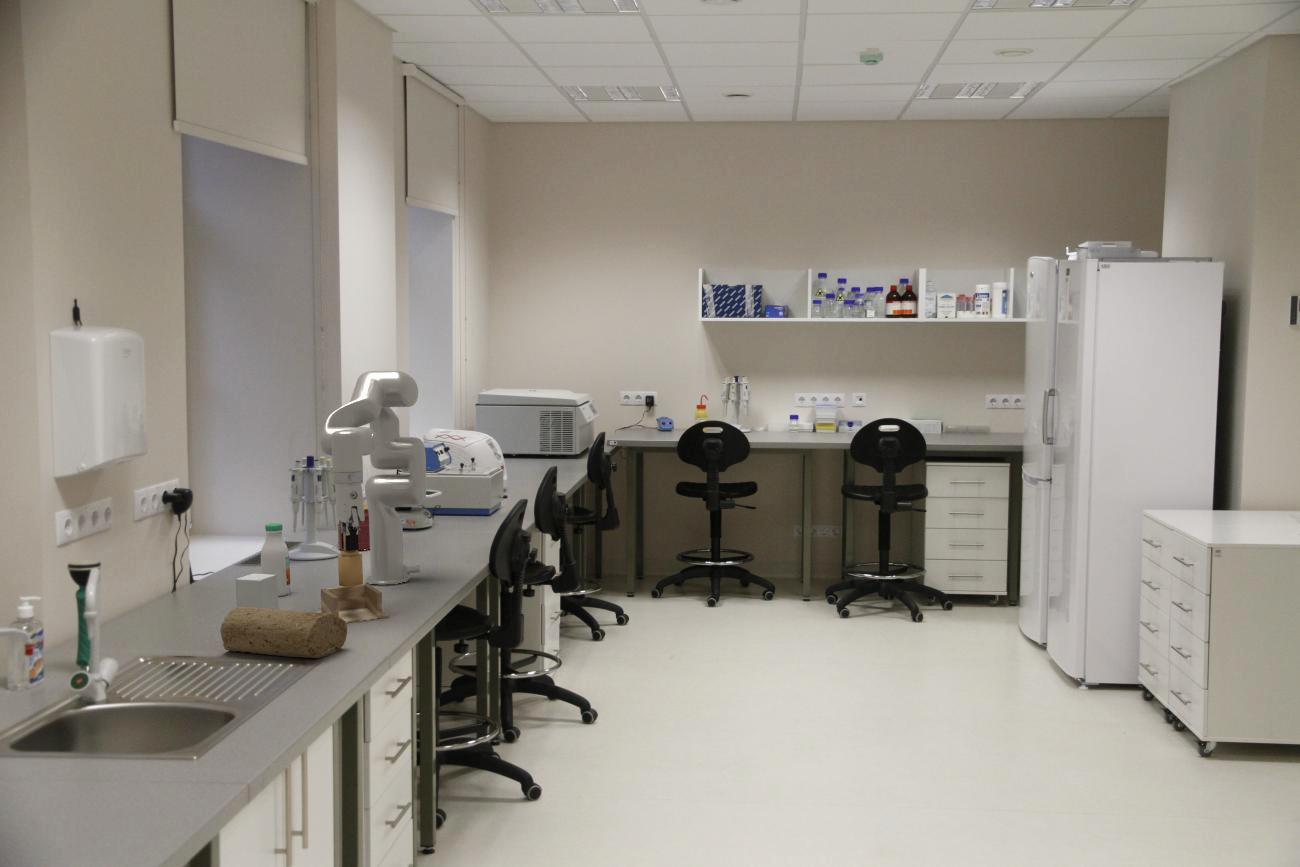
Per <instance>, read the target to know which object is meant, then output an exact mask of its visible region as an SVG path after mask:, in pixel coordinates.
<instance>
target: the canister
mask: <svg viewBox="0 0 1300 867" xmlns="http://www.w3.org/2000/svg"><path fill="white" fill-rule="evenodd" d="M363 503H364V517H365V520H364V522H362V523H361V522H359V521H358V523H359V527H358V543H359V549H358V550H364V549H370V531H369V512H368V505H367V501H366V502H365V501H363ZM337 537H338V541H337V545H338V550H340V549H341V550H340V551H343V550H344V549H343V548H342V543H341V521H340V520H338V523H337Z"/></svg>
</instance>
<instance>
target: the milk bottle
mask: <svg viewBox="0 0 1300 867" xmlns="http://www.w3.org/2000/svg"><path fill="white" fill-rule="evenodd" d="M264 525H265V526H264V529H265V533H266V534H265V535H266V536H265V540H264V543H263V545H262V548H261V551H260V574H270V575H277V589H278V597H282V596H287V594H288V595H289V594H291V592H292V591H291V590H292V589H291V565H290V552H289V549H288V546H287V544H286V541H285V540H284V539H285V538H284V537H283V524H282V523H281V522H271V523H266V524H264Z"/></svg>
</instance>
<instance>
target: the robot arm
mask: <svg viewBox="0 0 1300 867" xmlns="http://www.w3.org/2000/svg"><path fill="white" fill-rule="evenodd" d="M418 398H419V387H418V384H417V382H416V380H415V379H414V377H412V376H410V375H409V374H408V373H406V372H403V371H400V370H368V371H365V372H363V373H362V374H360V375H359V377H358V378H357V379H356V383H355V386H354V388H353V391H352V395H351V398H350V401H349V402H347V403H345V404H343V405H341V406H340V407H338V408H337V409H335V410H334V411H333V412H331V413H330V414H329V415H328V417H326V420H325V422H324V425H323V427H322V429H321V434H320V437H319V438H320V440H319V444H320V449H321V450H322V452H323V453H324V454H325V455H327V456H329V457H331V461H332V464H331V465H332V466H331V467H332V485H334V486H336V488H335V510H336V519H337V520H338V521H339V520H340V521H341V543H342V548H343V549H344V537H343V531H342V527H343V526H346V534H347V535H345V544H346V551H353V550H358V549H359V543H358V527H359V523H358V521H359V522H361V523H362V522H364V520H365V517H364V503H363V502H364V496H363V495H365V499H366V502H367V505H368V512H369V531H370V551H369V552H370V553H369V556H370V557H369V558H370V560H369V561H370V575H369V576H367V577H366V578H365V583H366V582H367V583H371V584H395V585H397V584H396V583H401V584H403V583H402V582H405V581H407V582H409V581H410V575H411V573H415V574H416V573H420V572H421V568H420V566H419V565H416V566H415V565H414V566H413V565H406V564H405V562H404V532H403V520H402V517H401V516H400V515H399V513H398V512H397V511H396V509H395V508H412V507H413V508H414V507H415V508H416V507H421V506H422V505H424V503H425V501H426V498H427V497H426V496H427V458H426V447H425V444H424V441H422V439H420V438H419V437H416V436H415V437H414V436H413V437H412V436H405V437H404V436H402V437H401V435H400V419H399V417H398V415H397V414H396V413H395V412H394V410H393V409H392V408H410V407H413V406H414V405H415V404H416V403H417V402H418ZM368 424H369V427H366V425H368ZM363 456H365V457H366V456H369V458H370V464H371V465H372V467H373V468H374V469H377V470H383V471H386V470H387V471H392V470H396V471H397V470H401V471H402V470H403V471H405V470H406V471H408V472H409V474H407V473H406V474H401V473H400V474H396V473H395V474H394V473H393V474H392V473H391V474H385V473H384V474H376V475H373V476H371V477H369V478H368V479H367V480H366V482H365V484H364V465H363V464H364V463H363V460H364V458H363ZM363 484H364V493H365V494H363V488H362V485H363ZM349 525H352V526H350V529H349ZM408 580H409V581H408ZM367 583H366V584H367ZM405 583H406V582H405ZM371 584H370V585H371Z"/></svg>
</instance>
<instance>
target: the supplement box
mask: <svg viewBox="0 0 1300 867" xmlns="http://www.w3.org/2000/svg"><path fill="white" fill-rule="evenodd" d="M235 591H236V592H235V593H236V594H235V595H236V607H241V606H242V607H254V608H267V609H279V596H278V589H277V575H270V574H261V573H251V574H247V575H244V576H241V577H238V578H236V579H235Z"/></svg>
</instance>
